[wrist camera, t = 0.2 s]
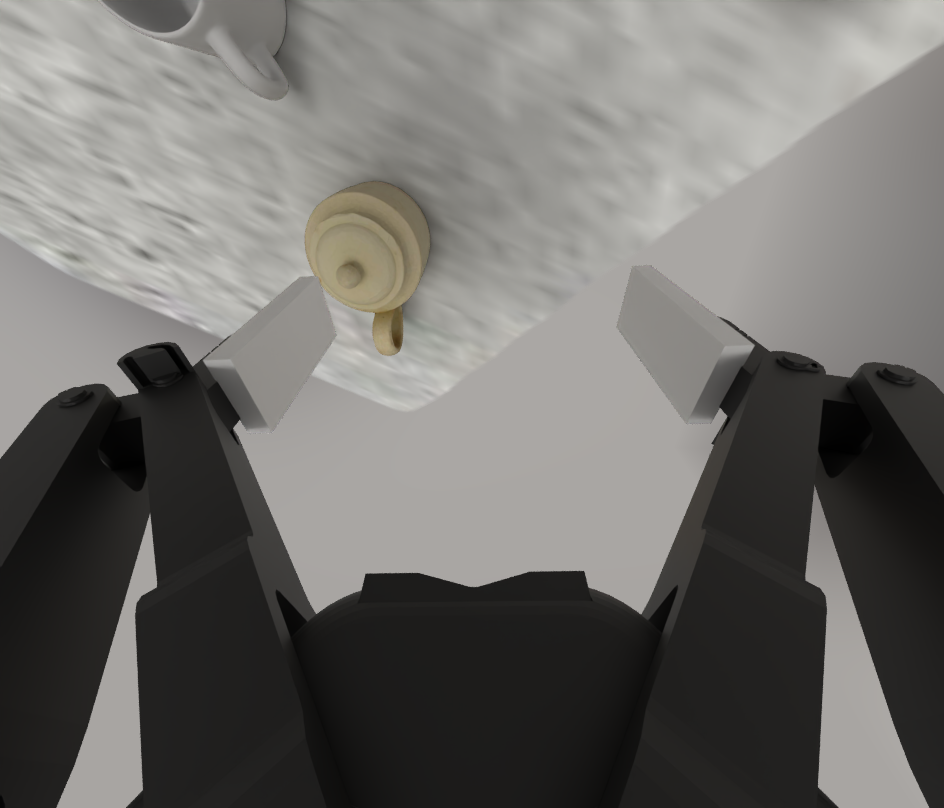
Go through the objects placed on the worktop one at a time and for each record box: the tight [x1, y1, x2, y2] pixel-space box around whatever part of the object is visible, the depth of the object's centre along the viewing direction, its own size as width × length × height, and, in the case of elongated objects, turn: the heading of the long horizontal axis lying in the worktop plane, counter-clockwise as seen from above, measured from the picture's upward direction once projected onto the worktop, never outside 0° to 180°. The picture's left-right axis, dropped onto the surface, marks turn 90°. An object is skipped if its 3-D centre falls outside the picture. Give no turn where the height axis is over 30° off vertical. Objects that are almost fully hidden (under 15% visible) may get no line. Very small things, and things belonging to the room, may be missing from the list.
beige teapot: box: [305, 181, 430, 356], centre depth 34 cm, size 15×11×15 cm
